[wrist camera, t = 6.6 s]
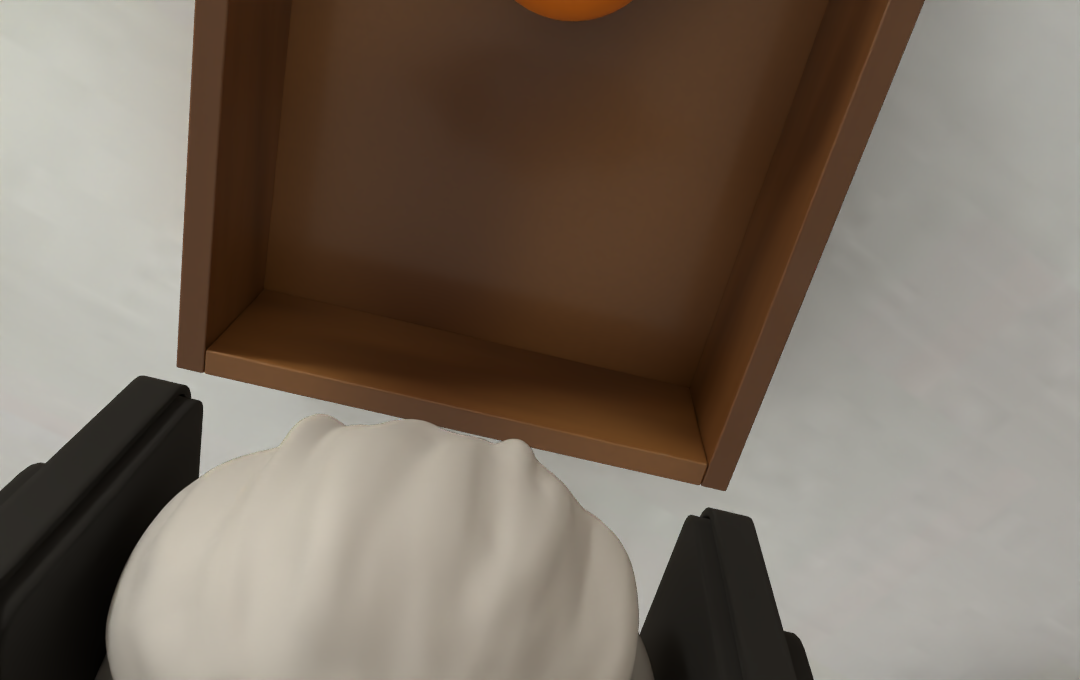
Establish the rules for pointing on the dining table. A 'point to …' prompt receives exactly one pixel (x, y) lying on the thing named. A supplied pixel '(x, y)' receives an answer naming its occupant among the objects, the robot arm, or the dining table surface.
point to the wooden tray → (524, 209)
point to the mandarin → (573, 8)
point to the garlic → (376, 568)
